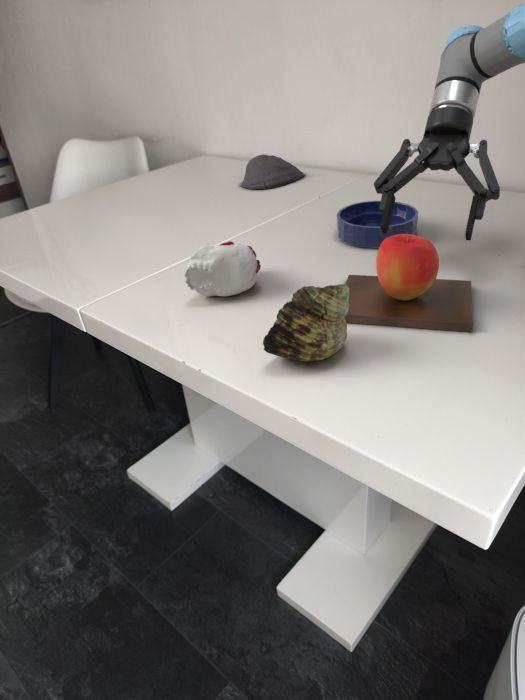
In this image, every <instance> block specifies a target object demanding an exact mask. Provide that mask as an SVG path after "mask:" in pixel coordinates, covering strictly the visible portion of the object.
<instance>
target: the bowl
mask: <svg viewBox="0 0 525 700" xmlns="http://www.w3.org/2000/svg"><path fill="white" fill-rule="evenodd" d="M380 202H381V200H367V201H366V200H365V201H360V202H355V203H352V204H349V205H345V206H343V207H342V208H340V209H339V210H338V211H337V213H336V235H337V238H338V239H339V240H341V241H342V242H343V243H345V244H349V245H351V246H355V247H361V248H375V249H377V248H378V249H379V247H380V245H381V243H382V242H383V240H384V239H385V238H387V237H390V236H393V235H398V234H412V235H416V236H418V235H417V234H418V225H419V213H420V212H419V211H418V209H417V208H416V207H414V206H413V205H411V204H408V203H404V202H400V201H395V204H394V208H393V212H392V216H391V221H390V225H389V229H388V233H387V234H386V233H383V232H382V229H381V227H380V225H381V221H382V217H383V213H381V211H380V208H379V206H380Z"/></svg>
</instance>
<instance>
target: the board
mask: <svg viewBox="0 0 525 700" xmlns="http://www.w3.org/2000/svg"><path fill="white" fill-rule="evenodd" d="M345 284H346V285H347V286H349V293H350V294H349V310H348V312H347V315H346V316H345V317H344V318H345V320H346V324H359V325H373V326H385V327H399V328H400V327H401V328H411V329H423V330H425V329H427V330H436V331H437V330H438V331H451V332H462V333H463V332H464V333H472V330H473V324H474V323H473V297H472V280H467V279H465V280H463V279H443V278H436V279H435V281H434V283H433V285H432V286H431V287H430V288H429V289H428V290H427V291H426V292H425V293H423V294H422V295H420V296H418V297H416V298H414V299H411V300H407V301H403V300H397V299H395V298H393V297H391V296H390V295H388V294H387V293H386V292H385V291H384V289H383V288H382V286H381V284H380V282H379V279H378V276H377V275H367V274H366V275H364V274H348V275H347V278H346V281H345Z"/></svg>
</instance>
